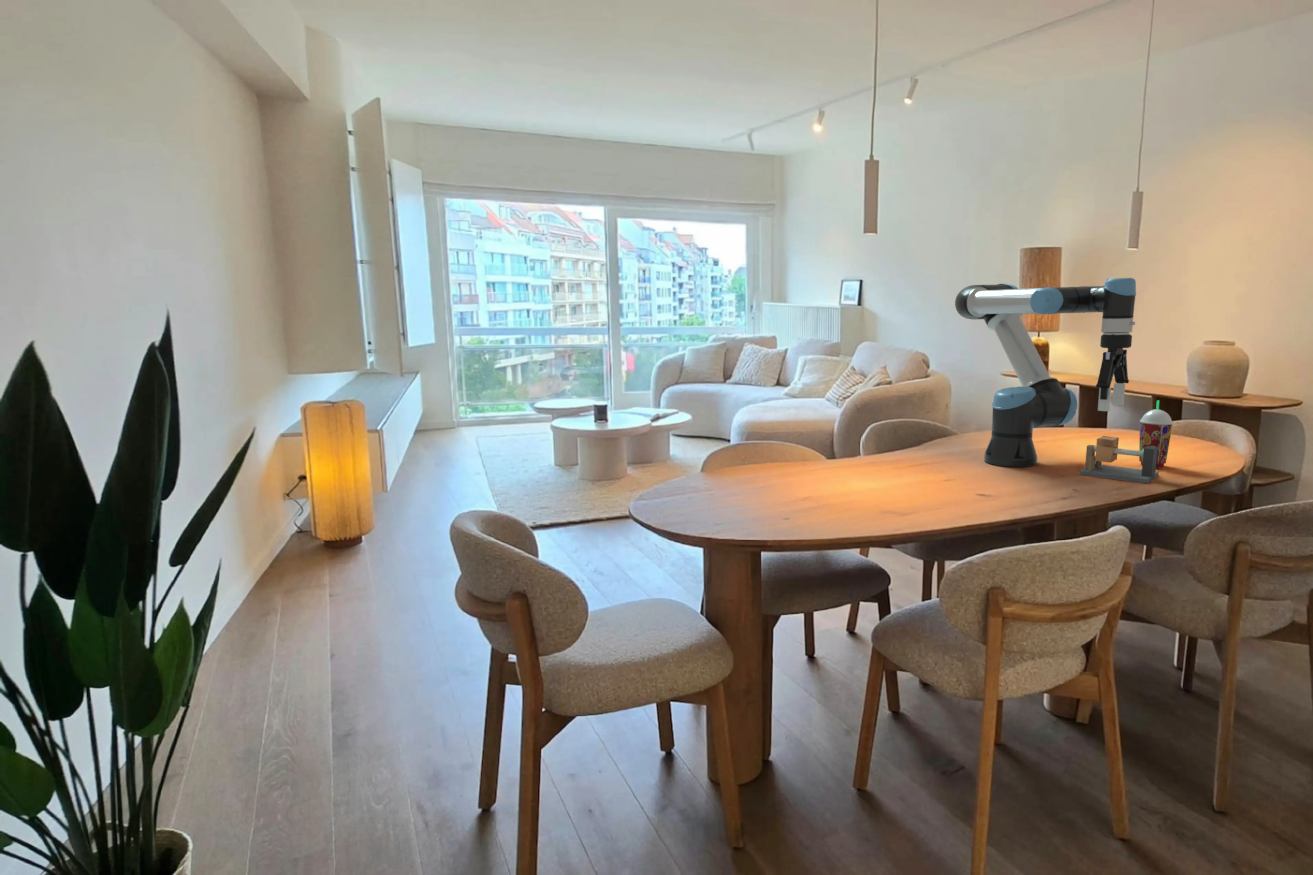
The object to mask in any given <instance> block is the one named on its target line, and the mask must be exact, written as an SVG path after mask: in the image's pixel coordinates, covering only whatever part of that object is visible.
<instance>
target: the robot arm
mask: <svg viewBox="0 0 1313 875" xmlns="http://www.w3.org/2000/svg"><path fill="white" fill-rule="evenodd" d="M1136 296H1137V281H1136V279H1135V278H1133V277H1119V278H1118V277H1115V278H1106V280H1105V281H1104V285H1095V286H1094V285H1092V286H1091V285H1090V286H1089V285H1087V286H1085V285H1084V286H1065V287H1064V286H1063V287H1062V286H1061V287H1060V286H1059V287H1058V286H1056V287H1055V286H1050V287H1049V286H1045V287H1036V288H1035V287H1032V288H1031V287H1030V288H1029V287H1028V288H1018V287H1017V286H1016V285H1013V284H1006V283H998V284H972V285H968V286H966V287H964V288H962V289H961V290H960V291H959V292H958V293H957V294H956V296H955V300H954V305H955V309H956V310H955V311H956V312H957V314H959V315H960V316H961V317H963V318H964V319H967V320H984V322H985V324H986V327H987V329H989V330H992V331H994V332H995V333H996V337H998V340H999V342H1000V343H1001V346H1002V348H1003V350H1004V352H1005V354H1006V356H1007V358H1008V360H1009V362H1010V364H1011V366H1012V369H1013V370H1014V373H1015V374H1016V377H1017V379H1018V380H1019V383H1020V385H1021V386H1011V387H1005V388H1000V389H998V390H997V391H996V392H995V393H994V394H993V402H992V416H991V417H992V419H991V436H990V440H989V443H988V445H987V447H986V449H985V452H984V457H983V459H984V460H983V461H984V462H985V463H987V464H991V465H995V466H1000V467H1013V468H1014V467H1015V468H1018V467H1019V468H1021V467H1026V468H1027V467H1033V466H1036V465H1037V464H1038V455H1037V451H1036V448H1035V444H1034V441H1033V431H1034V430H1033V429H1034V428H1046V427H1059V426H1062V425H1067V424H1068V423H1069V422H1071V421H1072V420H1073V419H1074V418H1075V416H1076V414H1077V410H1078V399H1077V396H1076V394H1075V393H1074V391H1072V390H1071V389H1069V388H1066V387H1062V386H1061V384H1060V382H1059V379H1057V377H1052V376H1051V375H1050V374H1049V372H1048V370H1047V367H1046V365H1045V364H1044V362H1043V360H1042V358H1041V356H1040V354H1039V352H1038V350H1037V348H1036V347H1035V345H1034V342H1033V340H1032V338H1031V336H1030V334H1029V333H1028V330H1027V329H1026V326H1025V325H1024V322H1023V320H1022V319H1021V318H1022V316H1023V314H1024V315H1025V314H1028V315H1029V314H1030V315H1032V314H1033V315H1035V314H1037V315H1038V314H1040V315H1056V314H1081V313H1082V314H1085V313H1102V317H1101V318H1102V319H1101V330H1100V332H1101V333H1103V334H1101V336H1100V344H1099V345H1100V347H1101V348H1103V349H1107V351H1105V352H1104V351H1103V353H1102V361H1101V364H1100V365H1101V366H1100V370H1099V373H1098V379H1097V383H1095V387H1096V389H1097V388H1099V390H1098V401H1097V402H1098V404H1097V411H1098V412H1099V411H1100V412H1110V410H1111V408H1110V407H1111V405H1112V406H1116V407H1124V406H1125V405H1124V404H1125V401H1124V400H1125V390H1126V384H1129V382H1130V379H1129V375H1128V359H1127V353H1128V351H1127V349H1129V348H1132V342H1133V335H1132V334H1130V333H1132V332H1133V329H1134V328H1133V326H1135V324H1136V322H1135V321H1134V314H1135V313H1134V312H1135V301H1136ZM1113 378H1114V383H1113V388H1112V387H1111V384H1112V381H1113ZM1112 389H1113V391H1112ZM1111 393H1113V394H1112V404H1111Z"/></svg>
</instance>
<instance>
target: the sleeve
mask: <svg viewBox="0 0 1313 875" xmlns="http://www.w3.org/2000/svg"><path fill="white" fill-rule="evenodd" d="M1119 438H1120V437H1118V436H1107V435H1103V436H1100V437H1098V438H1097V439H1096V445H1095V446H1096V452H1095V461H1100V462H1102V463H1109V464H1110V463H1113V462H1115V461H1117V460H1118V454H1113V450H1114V448H1118V449H1119Z"/></svg>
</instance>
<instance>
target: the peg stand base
mask: <svg viewBox="0 0 1313 875" xmlns="http://www.w3.org/2000/svg"><path fill="white" fill-rule="evenodd" d="M1157 449H1158V447H1152V446H1147V447H1145V448H1144V449H1143V450H1142V451H1139V449H1138V450H1136V449H1129V448H1128V449H1125V448H1119V447H1118V448H1114V450H1113V454H1117V455H1125V456H1132V457H1139V456H1140V457H1141V459H1143V464H1142V465H1141V466H1142V467H1141V469H1139V468H1129V467H1122V466H1121V467H1120V466H1115V465H1114V466H1113V465H1105V464H1102V463H1103V462H1100V461H1095V457H1096V445H1095V444H1088V445H1086V450H1085V451H1086V452H1085V465H1084V468H1082V469H1081V470H1079V476H1087V477H1094V478H1100V479H1111V480H1116V481H1117V480H1118V481H1125V482H1131V483H1132V482H1133V483H1140V484H1149V483H1151V482H1152V481H1153V480H1155V479H1156V478H1158V476H1159V473H1160V471H1157V470H1156V469H1157V468H1156V460H1157Z"/></svg>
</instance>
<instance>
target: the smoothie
mask: <svg viewBox="0 0 1313 875" xmlns="http://www.w3.org/2000/svg"><path fill="white" fill-rule="evenodd" d="M1155 406H1156V407H1155V408H1156V409H1155V408H1154V409H1151V410H1148V411H1147V412H1146V413H1144V414H1143V416H1142V417H1141V419H1139V445H1138V446H1139V449H1138V451H1142V450H1143V449H1144V448H1145V447H1147V446H1152V447H1158V449H1157V460H1156V469H1160V468H1161V469H1162V468H1163V467H1164V466H1165V464H1167V458H1168V451H1169V446H1170V442H1171V436H1172V435H1171V434H1172V429H1173V424H1174V421H1173V419H1172V417H1171V416H1170V414H1169V413H1167V412H1166V411H1165V410H1162V409H1160V399H1159V400H1156V405H1155ZM1138 457H1139V458H1138V459H1139V460H1138V461H1139V462H1140V465H1141V466H1142V464H1143V459H1141V457H1140V456H1138Z"/></svg>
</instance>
